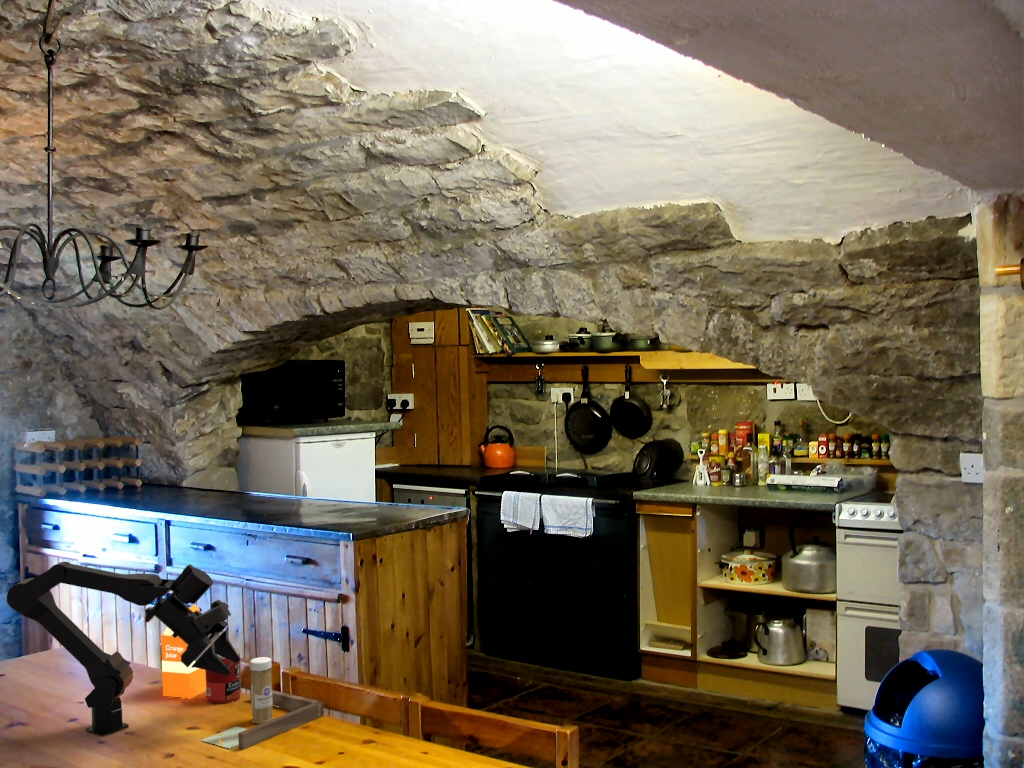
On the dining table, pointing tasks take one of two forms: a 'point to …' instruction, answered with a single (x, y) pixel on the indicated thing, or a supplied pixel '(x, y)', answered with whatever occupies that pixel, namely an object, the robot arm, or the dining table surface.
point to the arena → (272, 722)
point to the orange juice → (179, 668)
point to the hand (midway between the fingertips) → (234, 667)
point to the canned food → (224, 683)
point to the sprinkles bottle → (261, 689)
